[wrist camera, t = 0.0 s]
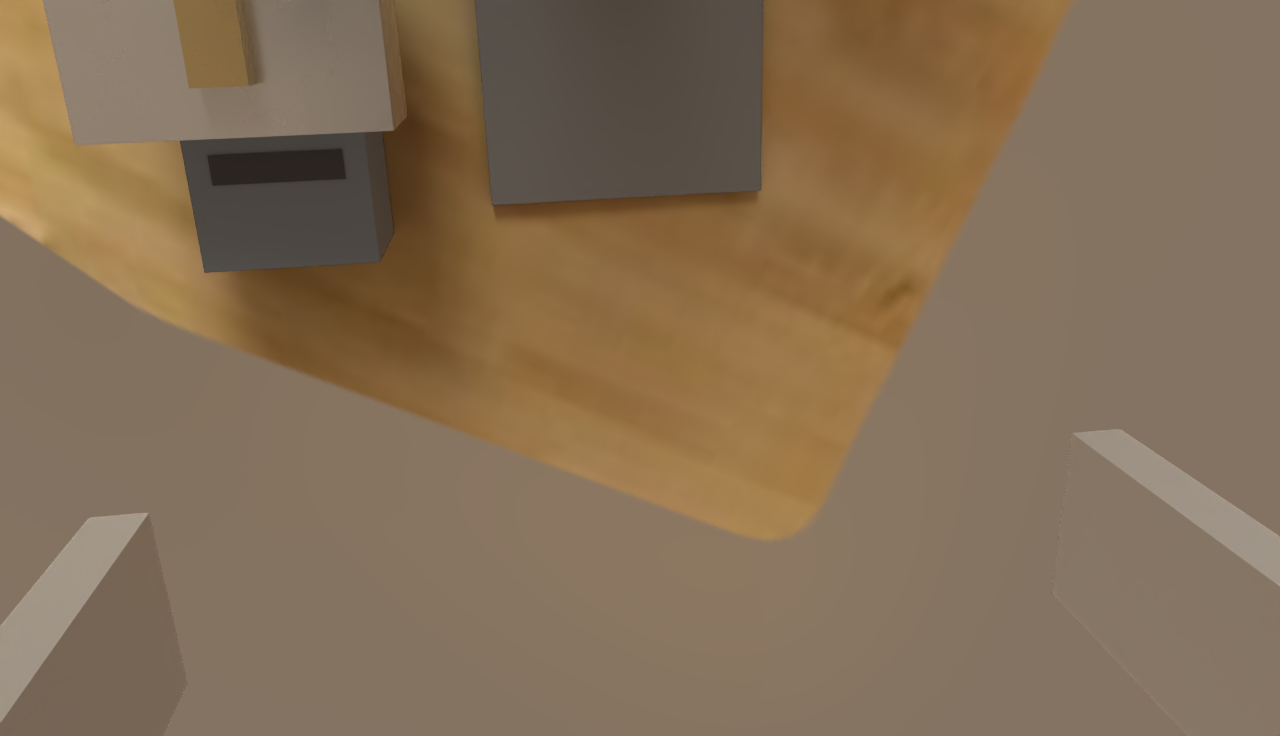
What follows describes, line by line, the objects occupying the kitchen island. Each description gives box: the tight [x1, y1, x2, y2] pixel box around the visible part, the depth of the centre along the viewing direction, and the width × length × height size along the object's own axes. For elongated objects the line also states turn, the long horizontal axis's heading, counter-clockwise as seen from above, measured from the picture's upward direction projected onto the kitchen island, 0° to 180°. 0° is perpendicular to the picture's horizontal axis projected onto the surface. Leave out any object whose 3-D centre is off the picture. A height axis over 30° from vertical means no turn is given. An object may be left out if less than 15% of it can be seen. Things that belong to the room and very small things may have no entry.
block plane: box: [180, 131, 394, 273], centre depth 34 cm, size 16×6×6 cm, turn 2°
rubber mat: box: [475, 0, 763, 205], centre depth 38 cm, size 14×11×1 cm
